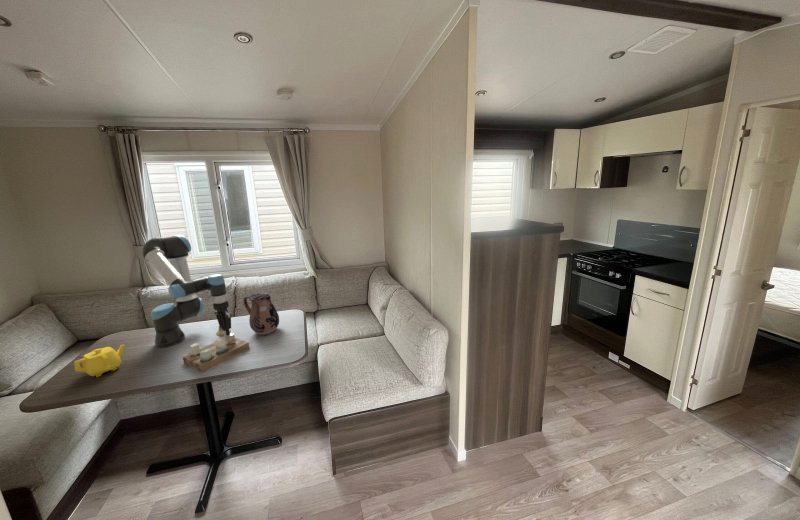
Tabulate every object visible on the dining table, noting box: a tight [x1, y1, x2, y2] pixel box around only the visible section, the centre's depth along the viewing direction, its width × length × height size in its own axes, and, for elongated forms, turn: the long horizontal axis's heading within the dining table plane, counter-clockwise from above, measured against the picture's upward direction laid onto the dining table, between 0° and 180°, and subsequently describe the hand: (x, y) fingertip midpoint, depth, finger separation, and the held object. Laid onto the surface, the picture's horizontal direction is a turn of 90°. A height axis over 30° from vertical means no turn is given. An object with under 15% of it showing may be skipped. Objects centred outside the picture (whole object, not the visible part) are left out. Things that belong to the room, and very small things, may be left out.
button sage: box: [200, 349, 213, 361], centre depth 156 cm, size 5×5×4 cm
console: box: [182, 337, 250, 373], centre depth 167 cm, size 19×26×4 cm
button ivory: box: [214, 337, 227, 349], centre depth 162 cm, size 5×5×4 cm
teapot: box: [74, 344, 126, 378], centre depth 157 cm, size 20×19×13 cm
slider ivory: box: [189, 342, 201, 355], centre depth 162 cm, size 3×3×5 cm
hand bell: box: [216, 325, 232, 337], centre depth 193 cm, size 8×8×16 cm
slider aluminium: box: [226, 332, 236, 344], centre depth 172 cm, size 3×3×5 cm
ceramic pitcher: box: [242, 291, 280, 336], centre depth 191 cm, size 18×21×25 cm
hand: (227, 339), depth 174 cm, fingers closed
